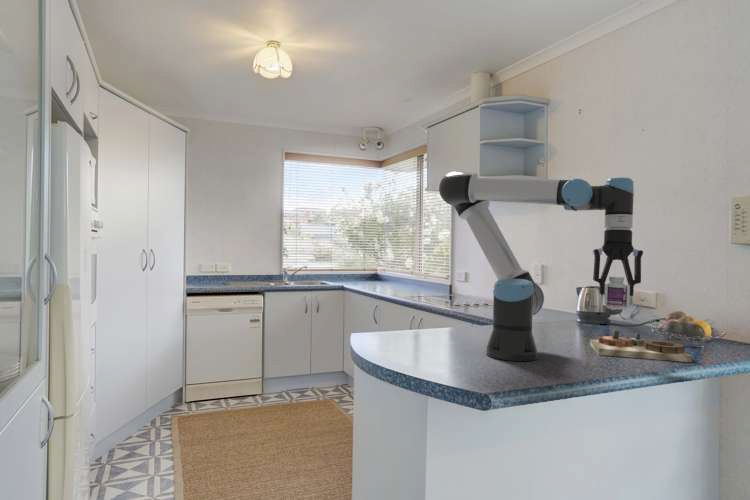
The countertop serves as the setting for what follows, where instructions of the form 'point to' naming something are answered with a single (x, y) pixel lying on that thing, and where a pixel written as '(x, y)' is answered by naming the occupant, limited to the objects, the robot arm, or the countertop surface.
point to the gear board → (639, 348)
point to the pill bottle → (616, 293)
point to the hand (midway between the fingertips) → (615, 305)
